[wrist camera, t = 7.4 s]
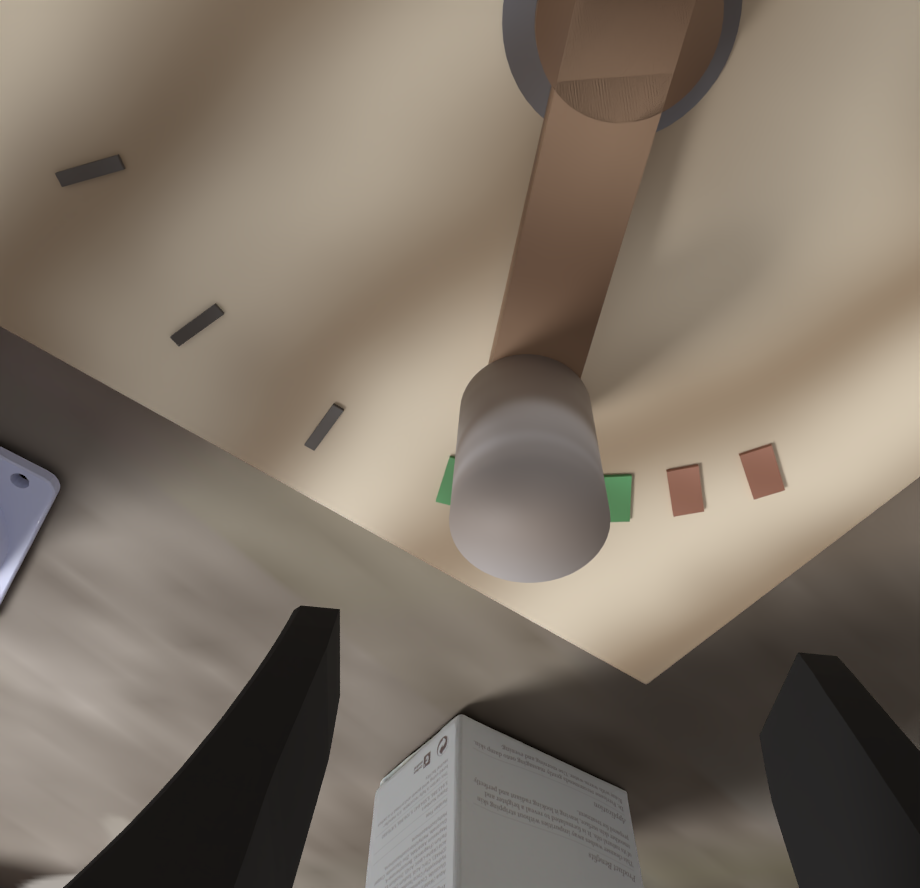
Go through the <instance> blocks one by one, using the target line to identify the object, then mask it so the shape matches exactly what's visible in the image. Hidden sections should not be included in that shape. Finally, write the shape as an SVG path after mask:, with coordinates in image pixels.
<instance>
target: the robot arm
mask: <svg viewBox="0 0 920 888" xmlns="http://www.w3.org/2000/svg"><path fill="white" fill-rule="evenodd" d="M19 474H22V475H24V476H25V477H26V478H27V479H28V480H26V479H24V478H22V477H21V476H20V475H19ZM59 491H60V483H59V480H58V479H57V478H56V476H55V475H54V474H52V473H51V472H49V471H48V470H46V469H44V468H42V467H40V466H38V465H36V464H34V463H32V462H30V461H28V460H26V459H24V458H22V457H20V456H18V455H16V454H14V453H12V452H10V451H8V450H6V449H5V448H3V447H1V446H0V605H1V603H2V601H3V599H4V597H5V595H6V593H7V591H8V589H9V587H10V585H11V583H12V581H13V579H14V577H15V576H16V574H17V572H18V570H19V568H20V566H21V564H22V562H23V560H24V558H25V556H26V554H27V552H28V550H29V549H30V547H31V545H32V543H33V541H34V539H35V537H36V535H37V533H38V531H39V529H40V527H41V525H42V523H43V522H44V520H45V518H46V516H47V514H48V512H49V510H50V508H51V506H52V504H53V502H54V500H55V498H56V496H57V494H58V493H59ZM339 698H340V609H331V608H321V607H310V606H300V607H298V608H297V609H295V610H294V611H293V613H292V615H291V616H290V618H289V620H288V622H287V624H286V625H285V627H284V629H283V630H282V632H281V634H280V635H279V637H278V639H277V640H276V642H275V643H274V645H273V646H272V648H271V650H270V651H269V653H268V654H267V656H266V657H265V659H264V660H263V662H262V663H261V664H260V666H259V667H258V669H257V670H256V672H255V673H254V675H253V676H252V678H251V679H250V680H249V682H248V683H247V684H246V686H245V687H244V689H243V690H242V691H241V693H240V694H239V695H238V697H237V698H236V699H235V701H234V702H233V703H232V705H231V706H230V708H229V709H228V710H227V712H226V713H225V714H224V716H223V717H222V718H221V720H220V721H219V722H218V723H217V725H216V726H215V727H214V728H213V730H212V731H211V732H210V733H209V734H208V736H207V737H206V738H205V739H204V740H203V742H202V743H201V744H200V745H199V747H198V748H197V749H196V750H195V751H194V753H193V754H192V755H191V756H190V758H189V759H188V760H187V761H186V762H185V764H184V765H183V766H182V767H181V768H180V769H179V771H178V772H177V773H176V774H175V775H174V776H173V777H172V779H171V780H170V781H169V782H168V783H167V784H166V785H165V786H164V788H163V789H162V790H161V791H160V792H159V793H158V794H157V795H156V796H155V797H154V798H153V800H152V801H151V802H150V803H149V804H148V805H147V806H146V807H145V808H144V809H143V810H142V811H141V812H140V813H139V814H138V815H137V816H136V817H135V819H134V820H133V821H132V822H131V823H130V824H129V825H128V826H127V827H126V828H125V829H124V830H123V831H122V832H121V833H120V834H119V835H118V836H117V837H116V838H115V839H114V840H113V841H112V842H111V843H110V844H109V845H108V846H106V847H105V848H104V849H103V850H102V851H101V852H100V853H99V854H98V855H97V856H96V857H95V858H94V859H93V860H92V861H91V862H90V863H89V864H88V865H87V866H86V867H85V868H84V869H83V870H82V871H81V872H80V873H78V874H77V875H76V876H75V877H74V878H73V879H72V880H71V881H70V882H69V883H68V884H67V885H66V886H64V887H63V888H292V887H293V883H294V880H295V876H296V873H297V869H298V866H299V862H300V859H301V855H302V852H303V848H304V845H305V841H306V838H307V834H308V831H309V827H310V823H311V820H312V816H313V813H314V809H315V806H316V802H317V799H318V795H319V792H320V788H321V785H322V781H323V778H324V774H325V770H326V767H327V763H328V760H329V754H330V749H331V743H332V738H333V732H334V727H335V721H336V715H337V709H338V703H339ZM760 740H761V746H762V752H763V758H764V763H765V769H766V774H767V779H768V784H769V789H770V794H771V799H772V803H773V806H774V809H775V813H776V816H777V819H778V822H779V826H780V829H781V832H782V835H783V838H784V842H785V845H786V848H787V851H788V854H789V857H790V861H791V864H792V867H793V870H794V873H795V876H796V879H797V882H798V885H799V888H920V751H919V750H918V749H917V748H916V747H915V745H914V744H913V743H912V742H911V741H910V740H909V739H908V737H907V736H906V735H905V734H904V733H903V732H902V731H901V729H900V728H899V727H898V726H897V725H896V724H895V722H894V721H893V720H892V719H891V718H890V717H889V716H888V714H887V713H886V712H885V711H884V710H883V709H882V707H881V706H880V705H879V704H878V703H877V702H876V700H875V699H874V698H873V697H872V696H871V695H870V693H869V692H868V691H867V690H866V689H865V688H864V686H863V685H862V684H861V683H860V682H859V681H858V680H857V678H856V677H855V676H854V675H853V674H852V673H851V672H850V670H849V669H848V668H847V667H846V666H845V665H844V664H843V663H842V661H841V660H840V659H839V658H838V657H837V656H828V655H818V654H807V653H798V654H797V656H796V658H795V660H794V663H793V665H792V667H791V669H790V671H789V673H788V675H787V678H786V680H785V682H784V684H783V686H782V688H781V690H780V693H779V695H778V697H777V699H776V701H775V703H774V705H773V707H772V710H771V712H770V714H769V716H768V718H767V720H766V722H765V725H764V727H763V729H762V731H761V733H760Z"/></svg>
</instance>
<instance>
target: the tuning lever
mask: <svg viewBox="0 0 920 888" xmlns="http://www.w3.org/2000/svg"><path fill="white" fill-rule="evenodd" d="M723 16H724V0H537V4H536V11H535V27H534V28H535V40H536V45H537V49H538V54H539V58H540V61H541V64H542V67H543V70H544V73H545V75H546V77H547V79H548V81H549V83H550V84H551V89H550V94H549V98H548V102H547V107H546V111H545V116H544V120H543V124H542V129H541V133H540V138H539V142H538V146H537V151H536V155H535V160H534V164H533V168H532V173H531V177H530V182H529V186H528V190H527V195H526V199H525V204H524V208H523V212H522V217H521V221H520V226H519V230H518V235H517V239H516V243H515V248H514V252H513V257H512V261H511V265H510V270H509V274H508V279H507V283H506V287H505V292H504V296H503V301H502V305H501V309H500V314H499V318H498V323H497V327H496V331H495V336H494V340H493V345H492V349H491V353H490V358H489V362H488V365H487V366H486V367H484V368H483V369H481V370H480V371H479V372H478V373H477V374H476V375H475V376H474V377H473V378H472V379H471V380H470V382H469V384H468V385H467V387H466V389H465V391H464V393H463V396H462V399H461V405H460V413H459V423H458V433H457V443H456V454H455V464H454V474H453V484H452V494H451V504H450V514H449V527H450V532H451V536H452V538H453V541H454V543H455V545H456V547H457V548H458V550H459V551H460V552H461V554H462V555H463V556H464V557H465V558H466V559H467V560H468V561H469V562H470V563H471V564H473V565H474V566H475V567H476V568H478V569H480V570H481V571H483V572H485V573H487V574H489V575H491V576H494V577H497V578H500V579H503V580H508V581H512V582H521V583H537V582H545V581H551V580H555V579H559V578H562V577H564V576H567V575H570V574H572V573H574V572H575V571H577V570H579V569H581V568H582V567H584V566H585V565H586V564H588V563H589V562H590V561H591V560H592V559H593V558H594V557H595V556H596V555H597V554H598V553H599V551H600V550H601V548H602V547H603V545H604V543H605V541H606V539H607V537H608V533H609V530H610V522H611V519H610V509H609V503H608V498H607V492H606V486H605V480H604V475H603V469H602V463H601V458H600V452H599V446H598V440H597V435H596V429H595V423H594V418H593V412H592V406H591V401H590V397H589V393H588V391H587V388H586V387H585V385H584V383H583V381H582V380H581V376H582V372H583V369H584V366H585V363H586V359H587V356H588V353H589V350H590V346H591V343H592V340H593V336H594V333H595V330H596V327H597V323H598V320H599V317H600V313H601V310H602V307H603V304H604V300H605V297H606V294H607V290H608V287H609V284H610V281H611V277H612V274H613V271H614V268H615V264H616V261H617V258H618V254H619V251H620V248H621V245H622V241H623V238H624V235H625V231H626V228H627V225H628V222H629V218H630V215H631V212H632V208H633V205H634V202H635V199H636V195H637V192H638V189H639V186H640V182H641V179H642V176H643V172H644V169H645V166H646V163H647V159H648V156H649V153H650V149H651V146H652V143H653V140H654V136H655V133H656V130H657V126H658V123H659V120H660V117H661V113H662V112H664V111H666V110H667V109H669V108H671V107H672V106H673V105H675V104H676V103H677V102H679V101H680V100H681V99H682V98H683V97H685V96H686V95H687V94H688V93H689V92H690V91H691V90H692V88H693V87H694V86H695V85H696V84H697V83H698V81H699V80H700V79H701V77H702V76H703V74H704V73H705V71H706V70H707V68H708V66H709V64H710V62H711V60H712V58H713V56H714V53H715V51H716V48H717V46H718V42H719V38H720V35H721V31H722V24H723Z"/></svg>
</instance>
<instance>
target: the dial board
mask: <svg viewBox="0 0 920 888" xmlns="http://www.w3.org/2000/svg"><path fill="white" fill-rule="evenodd" d="M536 4H537V0H0V326H1V327H2V328H4V329H6V330H8V331H10V332H11V333H13V334H15V335H17V336H19V337H20V338H22V339H24V340H26V341H28V342H29V343H31V344H33V345H35V346H37V347H38V348H40V349H42V350H44V351H46V352H47V353H49V354H51V355H53V356H55V357H56V358H58V359H60V360H62V361H64V362H65V363H67V364H69V365H71V366H73V367H74V368H76V369H78V370H80V371H82V372H83V373H85V374H87V375H89V376H91V377H92V378H94V379H96V380H98V381H100V382H102V383H103V384H105V385H107V386H109V387H111V388H112V389H114V390H116V391H118V392H120V393H121V394H123V395H125V396H127V397H129V398H130V399H132V400H134V401H136V402H138V403H139V404H141V405H143V406H145V407H147V408H148V409H150V410H152V411H154V412H156V413H157V414H159V415H161V416H163V417H165V418H166V419H168V420H170V421H172V422H174V423H175V424H177V425H179V426H181V427H183V428H184V429H186V430H188V431H190V432H192V433H193V434H195V435H197V436H199V437H201V438H202V439H204V440H206V441H208V442H210V443H212V444H213V445H215V446H217V447H219V448H221V449H222V450H224V451H226V452H228V453H230V454H231V455H233V456H235V457H237V458H239V459H240V460H242V461H244V462H246V463H248V464H249V465H251V466H253V467H255V468H257V469H258V470H260V471H262V472H264V473H266V474H267V475H269V476H271V477H273V478H275V479H276V480H278V481H280V482H282V483H284V484H285V485H287V486H289V487H291V488H293V489H294V490H296V491H298V492H300V493H302V494H303V495H305V496H307V497H309V498H311V499H313V500H314V501H316V502H318V503H320V504H322V505H323V506H325V507H327V508H329V509H331V510H332V511H334V512H336V513H338V514H340V515H341V516H343V517H345V518H347V519H349V520H350V521H352V522H354V523H356V524H358V525H359V526H361V527H363V528H365V529H367V530H368V531H370V532H372V533H374V534H376V535H377V536H379V537H381V538H383V539H385V540H386V541H388V542H390V543H392V544H394V545H395V546H397V547H399V548H401V549H403V550H404V551H406V552H408V553H410V554H412V555H413V556H415V557H417V558H419V559H421V560H423V561H424V562H426V563H428V564H430V565H432V566H433V567H435V568H437V569H439V570H441V571H442V572H444V573H446V574H448V575H450V576H451V577H453V578H455V579H457V580H459V581H460V582H462V583H464V584H466V585H468V586H469V587H471V588H473V589H475V590H477V591H478V592H480V593H482V594H484V595H486V596H487V597H489V598H491V599H493V600H495V601H496V602H498V603H500V604H502V605H504V606H505V607H507V608H509V609H511V610H513V611H514V612H516V613H518V614H520V615H522V616H524V617H525V618H527V619H529V620H531V621H533V622H534V623H536V624H538V625H540V626H542V627H543V628H545V629H547V630H549V631H551V632H552V633H554V634H556V635H558V636H560V637H561V638H563V639H565V640H567V641H569V642H570V643H572V644H574V645H576V646H578V647H579V648H581V649H583V650H585V651H587V652H588V653H590V654H592V655H594V656H596V657H597V658H599V659H601V660H603V661H605V662H606V663H608V664H610V665H612V666H614V667H615V668H617V669H619V670H621V671H623V672H624V673H626V674H628V675H630V676H632V677H634V678H635V679H637V680H639V681H641V682H643V683H644V684H648V683H649V682H650V681H652V680H653V679H654V678H656V677H657V676H658V675H660V674H661V673H662V672H663V671H665V670H666V669H667V668H669V667H670V666H671V665H673V664H674V663H675V662H677V661H678V660H679V659H681V658H682V657H683V656H685V655H686V654H687V653H688V652H690V651H691V650H692V649H694V648H695V647H696V646H698V645H699V644H700V643H702V642H703V641H704V640H706V639H707V638H708V637H709V636H711V635H712V634H713V633H715V632H716V631H717V630H719V629H720V628H721V627H723V626H724V625H725V624H727V623H728V622H729V621H731V620H732V619H733V618H734V617H736V616H737V615H738V614H740V613H741V612H742V611H744V610H745V609H746V608H748V607H749V606H750V605H752V604H753V603H754V602H755V601H757V600H758V599H759V598H761V597H762V596H763V595H765V594H766V593H767V592H769V591H770V590H771V589H773V588H774V587H775V586H777V585H778V584H779V583H780V582H782V581H783V580H784V579H786V578H787V577H788V576H790V575H791V574H792V573H794V572H795V571H796V570H798V569H799V568H800V567H802V566H803V565H804V564H805V563H807V562H808V561H809V560H811V559H812V558H813V557H815V556H816V555H817V554H819V553H820V552H821V551H823V550H824V549H825V548H826V547H828V546H829V545H830V544H832V543H833V542H834V541H836V540H837V539H838V538H840V537H841V536H842V535H844V534H845V533H846V532H848V531H849V530H850V529H851V528H853V527H854V526H855V525H857V524H858V523H859V522H861V521H862V520H863V519H865V518H866V517H867V516H869V515H870V514H871V513H872V512H874V511H875V510H876V509H878V508H879V507H880V506H882V505H883V504H884V503H886V502H887V501H888V500H890V499H891V498H892V497H894V496H895V495H896V494H897V493H899V492H900V491H901V490H903V489H904V488H905V487H907V486H908V485H909V484H911V483H912V482H913V481H915V480H916V479H917V478H918V477H920V0H724V16H723V24H722V31H721V35H720V38H719V42H718V46H717V48H716V51H715V53H714V56H713V58H712V60H711V62H710V64H709V66H708V68H707V70H706V71H705V73H704V74H703V76H702V77H701V79H700V80H699V81H698V83H697V84H696V85H695V86H694V87H693V88H692V90H691V91H690V92H689V93H688V94H687V95H686V96H685V97H683V98H682V99H681V100H680V101H679V102H677V103H676V104H675V105H673V106H672V107H671V108H669V109H667V110H666V111H664V112H662V113H661V117H660V120H659V123H658V126H657V130H656V133H655V136H654V140H653V143H652V146H651V149H650V153H649V156H648V159H647V163H646V166H645V169H644V172H643V176H642V179H641V182H640V186H639V189H638V192H637V195H636V199H635V202H634V205H633V208H632V212H631V215H630V218H629V222H628V225H627V228H626V231H625V235H624V238H623V241H622V245H621V248H620V251H619V254H618V258H617V261H616V264H615V268H614V271H613V274H612V277H611V281H610V284H609V287H608V290H607V294H606V297H605V300H604V304H603V307H602V310H601V313H600V317H599V320H598V323H597V327H596V330H595V333H594V336H593V340H592V343H591V346H590V350H589V353H588V356H587V359H586V363H585V366H584V369H583V372H582V376H581V380H582V381H583V383H584V385H585V387H586V388H587V391H588V393H589V397H590V401H591V406H592V412H593V418H594V423H595V429H596V435H597V440H598V446H599V452H600V458H601V463H602V469H603V475H604V480H605V486H606V492H607V498H608V503H609V509H610V519H611V522H610V530H609V533H608V537H607V539H606V541H605V543H604V545H603V547H602V548H601V550H600V551H599V553H598V554H597V555H596V556H595V557H594V558H593V559H592V560H591V561H590V562H589V563H588V564H586V565H585V566H584V567H582V568H581V569H579V570H577V571H575V572H574V573H572V574H570V575H567V576H564V577H562V578H559V579H555V580H551V581H545V582H537V583H521V582H512V581H508V580H503V579H500V578H497V577H494V576H491V575H489V574H487V573H485V572H483V571H481V570H480V569H478V568H476V567H475V566H474V565H473V564H471V563H470V562H469V561H468V560H467V559H466V558H465V557H464V556H463V555H462V554H461V552H460V551H459V550H458V548H457V547H456V545H455V543H454V541H453V538H452V536H451V532H450V527H449V514H450V504H451V494H452V484H453V474H454V464H455V454H456V443H457V433H458V423H459V413H460V405H461V399H462V396H463V393H464V391H465V389H466V387H467V385H468V384H469V382H470V380H471V379H472V378H473V377H474V376H475V375H476V374H477V373H478V372H479V371H480V370H481V369H483V368H484V367H486V366H487V365H488V362H489V358H490V353H491V349H492V345H493V340H494V336H495V331H496V327H497V323H498V318H499V314H500V309H501V305H502V301H503V296H504V292H505V287H506V283H507V279H508V274H509V270H510V265H511V261H512V257H513V252H514V248H515V243H516V239H517V235H518V230H519V226H520V221H521V217H522V212H523V208H524V204H525V199H526V195H527V190H528V186H529V182H530V177H531V173H532V168H533V164H534V160H535V155H536V151H537V146H538V142H539V138H540V133H541V129H542V124H543V120H544V116H545V111H546V107H547V102H548V98H549V94H550V89H551V84H550V83H549V81H548V79H547V77H546V75H545V73H544V70H543V67H542V64H541V61H540V58H539V54H538V49H537V45H536V40H535V28H534V27H535V11H536Z"/></svg>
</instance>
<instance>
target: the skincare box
mask: <svg viewBox="0 0 920 888" xmlns="http://www.w3.org/2000/svg"><path fill="white" fill-rule="evenodd" d="M365 888H644V887H643V882H642V876H641V870H640V864H639V859H638V853H637V848H636V843H635V837H634V832H633V826H632V821H631V815H630V809H629V803H628V797H627V792H626V791H624V790H622V789H620V788H618V787H616V786H614V785H612V784H609V783H607V782H605V781H603V780H601V779H598V778H596V777H594V776H592V775H590V774H588V773H586V772H583V771H581V770H579V769H577V768H575V767H573V766H571V765H569V764H566V763H564V762H562V761H560V760H558V759H556V758H554V757H552V756H549V755H547V754H545V753H543V752H541V751H539V750H537V749H535V748H532V747H530V746H528V745H526V744H524V743H522V742H520V741H518V740H515V739H513V738H511V737H509V736H507V735H505V734H503V733H501V732H498V731H496V730H494V729H492V728H490V727H487V726H485V725H483V724H481V723H479V722H477V721H475V720H473V719H471V718H469V717H467V716H465V715H462V714H461V715H458V716H456V717H455V718H454V719H452V720H451V721H450V722H449V723H448V724H447V725H445V726H444V727H443V728H442V729H441V730H440V731H439V732H438V733H437V734H436V735H435V736H434V737H433V738H431V739H430V740H429V741H428V742H427V743H425V744H424V745H423V746H422V747H421V748H419V749H418V750H417V751H416V752H414V753H413V754H412V755H410V756H409V757H408V758H407V759H405V760H404V761H403V762H402V763H401V764H400V765H398V766H397V767H396V768H395V769H394V770H393V771H392V772H391V773H389V774H388V775H387V776H386V777H384V778H383V780H382V781H381V783H380V787H379V788H378V789H377V791H376V794H375V803H374V812H373V822H372V831H371V839H370V849H369V858H368V868H367V877H366V887H365Z"/></svg>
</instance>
